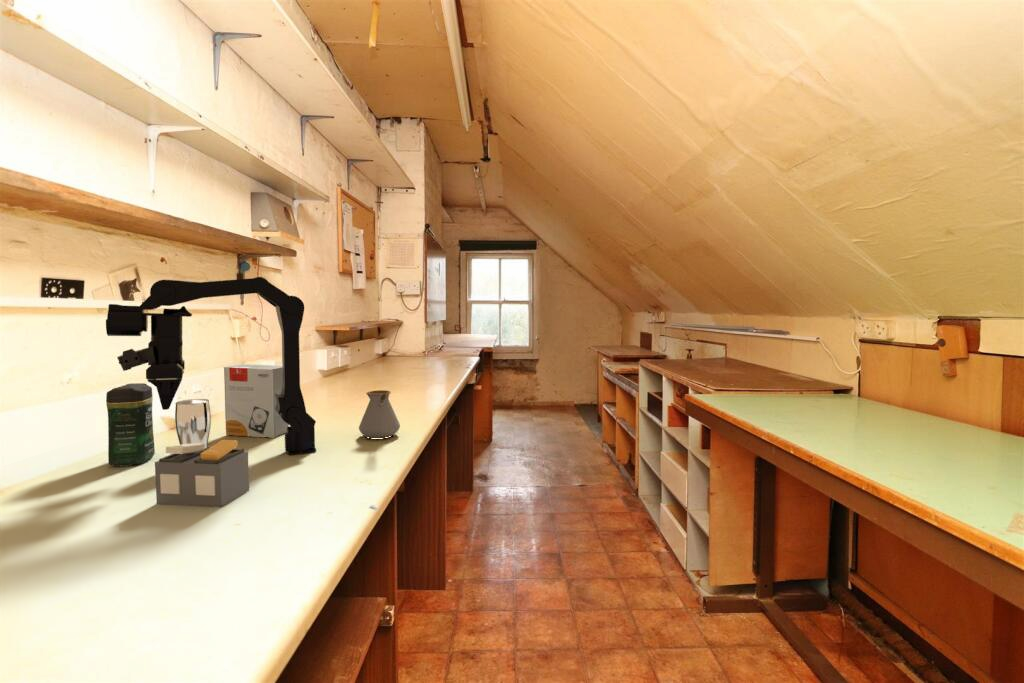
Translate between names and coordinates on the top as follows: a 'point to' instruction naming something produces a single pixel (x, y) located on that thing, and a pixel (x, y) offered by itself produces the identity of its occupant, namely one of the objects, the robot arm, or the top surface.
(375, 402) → the coffee pot
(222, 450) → the amber rocker
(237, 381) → the hard drive box
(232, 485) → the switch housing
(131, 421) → the coffee jar
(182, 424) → the beer glass
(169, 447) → the white rocker
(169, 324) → the robot arm
